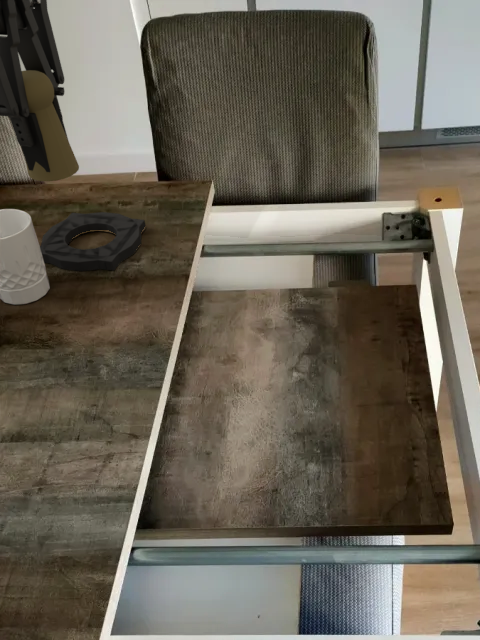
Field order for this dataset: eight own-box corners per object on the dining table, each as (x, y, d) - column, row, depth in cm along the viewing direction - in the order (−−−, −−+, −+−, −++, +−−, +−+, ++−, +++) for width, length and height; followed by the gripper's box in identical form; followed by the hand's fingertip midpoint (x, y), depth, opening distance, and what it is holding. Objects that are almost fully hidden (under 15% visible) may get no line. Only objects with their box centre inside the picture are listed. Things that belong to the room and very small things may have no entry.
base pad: (26, 265, 94) (23, 255, 93) (71, 217, 104) (69, 208, 103) (118, 275, 92) (115, 266, 91) (155, 225, 102) (153, 216, 101)
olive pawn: (20, 168, 81) (-13, 72, 73) (66, 155, 83) (39, 60, 76) (39, 186, 78) (7, 87, 70) (87, 171, 80) (61, 74, 72)
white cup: (21, 314, 86) (-7, 246, 79) (-18, 296, 89) (-49, 229, 82) (66, 285, 90) (44, 218, 83) (27, 269, 93) (2, 203, 86)
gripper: (-42, -60, 57) (42, 197, 73) (56, -93, 68) (110, 135, 85) (-117, -63, 58) (-17, 190, 75) (-8, -95, 69) (57, 130, 86)
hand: (50, 160), depth 80 cm, fingers closed on olive pawn, 4 cm apart
